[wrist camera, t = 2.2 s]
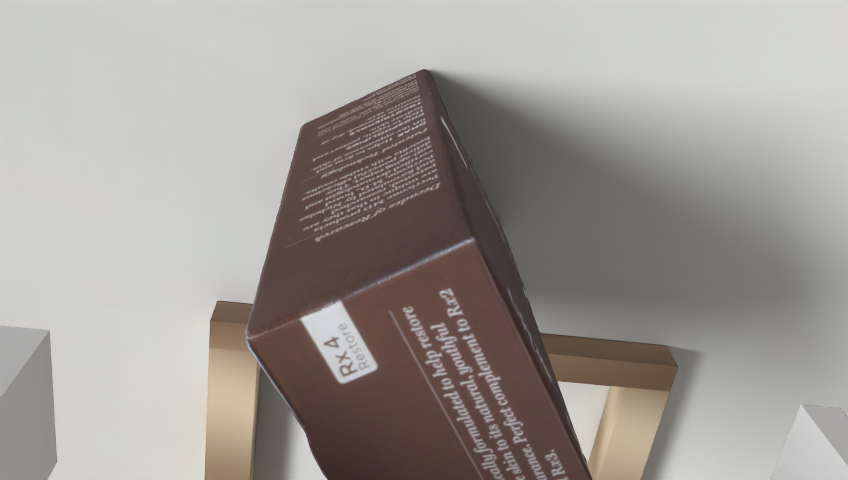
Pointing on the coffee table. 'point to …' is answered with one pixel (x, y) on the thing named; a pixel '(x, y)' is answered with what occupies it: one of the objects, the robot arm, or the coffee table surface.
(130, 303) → the coffee table surface
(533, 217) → the coffee table surface
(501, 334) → the box
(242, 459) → the two-pane wooden frame
